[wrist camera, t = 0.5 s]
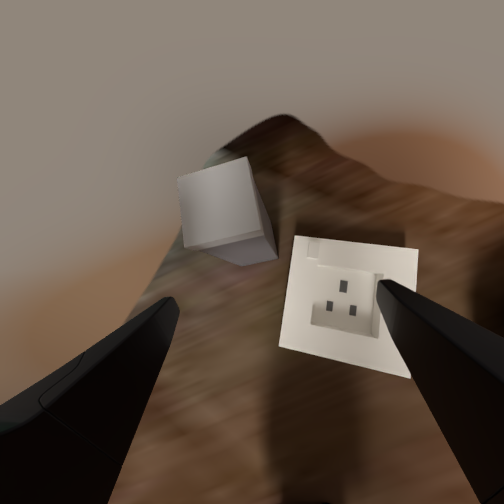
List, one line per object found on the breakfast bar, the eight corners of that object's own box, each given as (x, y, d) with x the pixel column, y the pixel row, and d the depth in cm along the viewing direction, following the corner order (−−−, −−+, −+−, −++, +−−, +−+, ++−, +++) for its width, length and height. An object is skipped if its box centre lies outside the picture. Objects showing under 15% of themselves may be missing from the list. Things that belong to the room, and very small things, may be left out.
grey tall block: (279, 259, 23) (260, 229, 11) (240, 267, 24) (184, 247, 12) (271, 221, 24) (246, 156, 12) (234, 230, 25) (176, 177, 13)
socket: (397, 368, 19) (413, 381, 16) (280, 340, 21) (278, 347, 19) (405, 253, 20) (421, 248, 18) (294, 240, 23) (294, 234, 20)
